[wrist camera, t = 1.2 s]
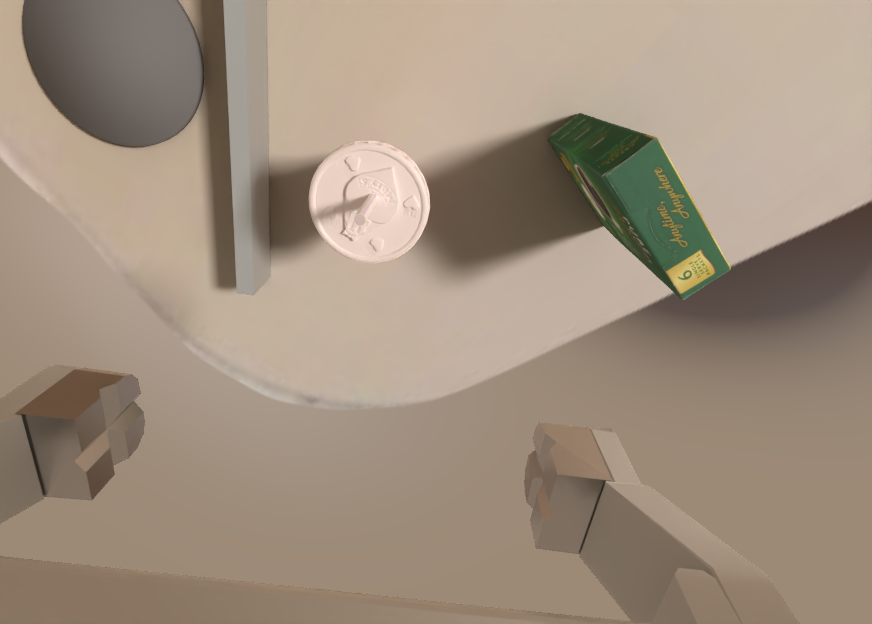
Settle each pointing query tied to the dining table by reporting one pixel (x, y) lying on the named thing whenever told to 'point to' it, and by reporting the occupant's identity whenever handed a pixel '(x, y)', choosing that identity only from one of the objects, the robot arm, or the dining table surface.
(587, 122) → the coffee box
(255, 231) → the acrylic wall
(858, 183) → the dining table surface
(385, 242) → the smoothie
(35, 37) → the pad
